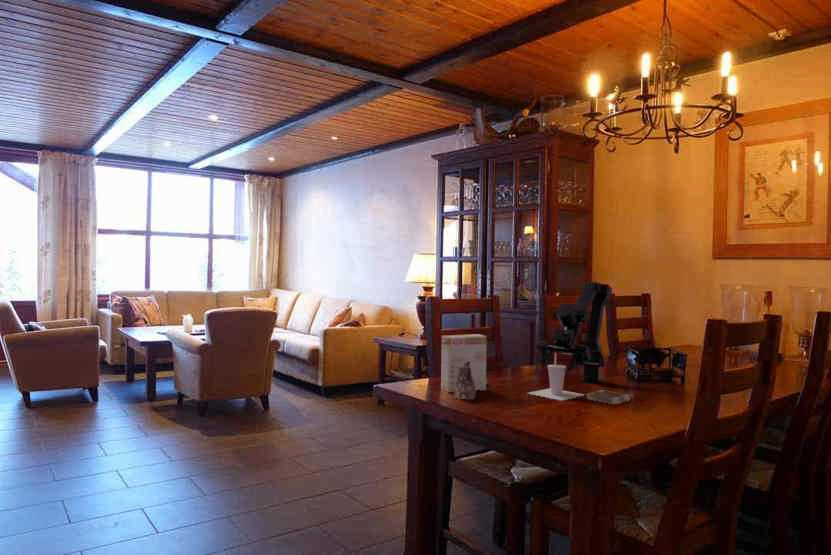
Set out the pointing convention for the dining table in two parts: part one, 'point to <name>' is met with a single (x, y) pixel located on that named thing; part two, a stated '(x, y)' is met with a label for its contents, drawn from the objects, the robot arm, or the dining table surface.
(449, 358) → the coffeecake box
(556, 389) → the smoothie
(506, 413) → the dining table surface
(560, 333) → the robot arm
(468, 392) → the figurine
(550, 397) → the mat
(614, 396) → the holder
